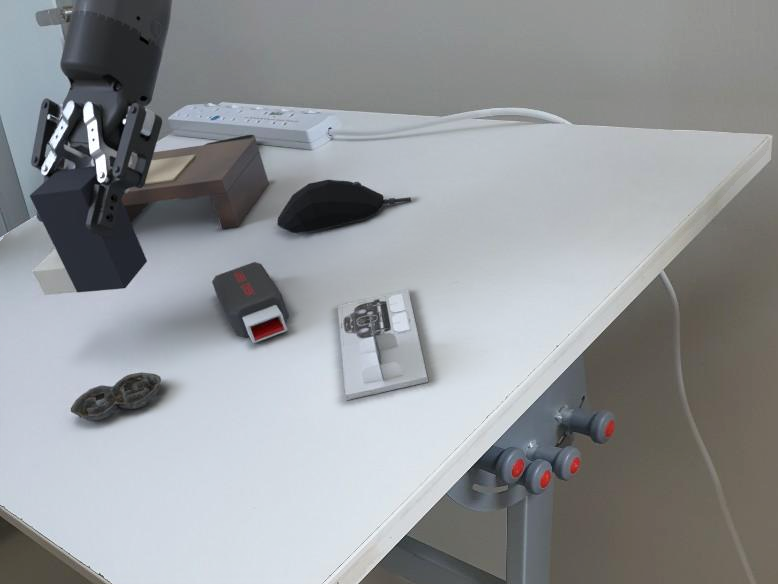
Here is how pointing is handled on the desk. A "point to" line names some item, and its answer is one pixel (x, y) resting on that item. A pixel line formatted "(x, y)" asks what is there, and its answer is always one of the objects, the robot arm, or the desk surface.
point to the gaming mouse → (330, 206)
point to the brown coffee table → (204, 179)
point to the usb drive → (251, 302)
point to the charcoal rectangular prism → (82, 238)
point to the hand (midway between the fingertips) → (73, 228)
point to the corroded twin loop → (117, 396)
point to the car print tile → (380, 345)
